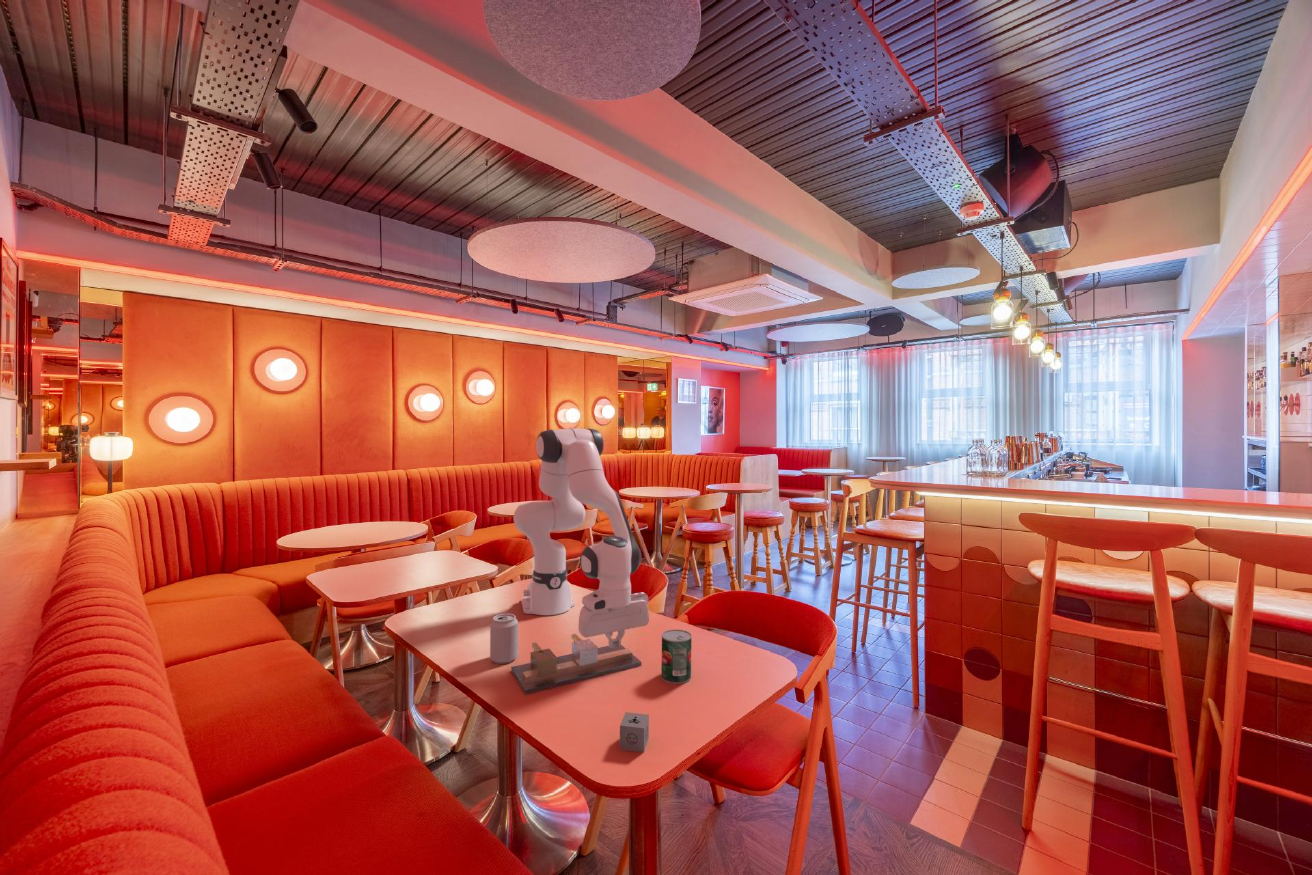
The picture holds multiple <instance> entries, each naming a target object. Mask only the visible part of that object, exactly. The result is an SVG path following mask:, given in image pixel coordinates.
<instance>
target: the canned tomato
mask: <svg viewBox="0 0 1312 875" xmlns="http://www.w3.org/2000/svg"><path fill="white" fill-rule="evenodd" d="M692 636H693V635H692V633H691V632H689V631H687V630H683V629H668V630H666V631H663V632H662V633H661V668H660V670H661V674H660V675H661V676H660V677H661V680H663V681H664V682H666V683H668V684H673V685H678V684H679V685H680V684H686V683H687V682H689V681H690V680H691V679H692V643H693V642H692Z"/></svg>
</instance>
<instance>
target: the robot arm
mask: <svg viewBox="0 0 1312 875" xmlns="http://www.w3.org/2000/svg"><path fill="white" fill-rule="evenodd" d="M535 448H536V449H535V450H536V453H537V454H536V455H537V457H538V458H539V459H540V460H541V463H540V464H541V465H540V472H539V478H538V479H539V480H538V486H539V487H538V488H539V489H540V491H541V492H542V493H543V494H545V495H546V496H548V497H550V498H552V499H551V500H542V501H541V500H540V501H530V502H527V503H523V504H518V506H517V507H516V509H515V511H514V513H513V522H514V526H515V528H516V529H517V530H518V531H519V532H520V533H522V534H523V535H524V536H525V537H526V538H527V539H528V540H529V542H530V545H531V546H532V550H533V560H534V567H533V568H534V569H533V572H532V580H531V582H529V584H528V585H527V589H524V590H523V597H522V598H521V599H520V602H521V608H522V610H523V612H522V613H523V614H527V615H528V614H529V615H530V614H531V615H537V616H555V615H561V614H563V613H566V612H568V611H569V610H570V609H571V608H573V607H574V606H575V605H576V602H575V601H574V600H572V589H571V587H572V586H571V583H570V582H569V581H568V580H567V579H568V569H567V565H566V564H567V557H566V555H567V550H566V548H565V545H563V544H562V543H561V542H559V541H557V540H555V539H552V538H551V533H553V532H559V531H562V532H563V531H569V530H574V529H576V528H579V527H581V526H583V524H584V522H585V521H586V509H585V507H584V505H585V506H589V507H592V508H595V509H598V510H600V511H602V512H603V513H604V514H606V516H607V517H608V519H609V523H610V525H611V528H612V531H613V534H614V535H610V536H606V537H603V538H602V539H601V541H600V542H598V543H594V544H591V545H588V546H586V547H584V549H583V550H582V552H581V554H580V557H579V558H580V560H579V566H580V570H581V572H582V573H583V575H584V576H586V577H587V578H589V579H592V580H593V579H598V580H599V585H598V589H596V590H594V591H592V592H589V593H588V594H586V595H585V596H583V597H582V600H581V603H582V605H583V606H582V607H581V609H580V612H579V615H578V616H579V617H578V632H579V633H580V635H581V636H582V637H584V638H585V639H586V638H591V637H595V636H601V635H605V637H606V639H607V640H608V646H609V647H610V648H613V647H618V646H621V645H622V644H621V642H622V639H623V637H624V635H625V632H626V630H632V629H636V628H640V627H644V626H645V627H646V626H647V625H648V624H649V622H650V612H649V596H648V594H647V593H645V592H644V591H643V592H642V591H641V592H636V593H635V592H634V593H632V583H631V575H633V574H635V573H636V571H637V570H638V569H639V567H640V565H641V562H642V559H643V558H642V551H641V549H640V547H639V544H638V543H637V541H636V539H635V537H634V535H633V531H632V529H631V525H630V522H629V519H628V517H627V514H626V511H625V509H624V505H623V502H622V500H621V497H620V496H619V494H618V492H617V491H616V490H615V489H613V488H612V487H611V485H610V484H609V483H608V480H607V479H606V476H605V471H604V467H603V462H602V458H601V455H602V454H603V453H604V452H603V451H604V438H603V436H602V434H601V433H600V431H599V430H597V429H593V428H579V427H578V428H577V427H575V428H573V427H570V428H559V429H547V430H543V431H541V432H539V434H538V436H537V437H536V443H535ZM615 632H617V635H616V637H615V638H612V637H613V633H615Z"/></svg>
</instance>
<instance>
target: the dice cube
mask: <svg viewBox="0 0 1312 875" xmlns="http://www.w3.org/2000/svg"><path fill="white" fill-rule="evenodd" d="M622 717H623V718H622V720H621V722H620V724H619V750H620V751H630V752H637V753H645V751H646V747H647V744H648V741H649V738H650V735H649V734H650V732H649V731H650V728H649V727H650V725H649V724H650V714H648V713H646V714H645V713H638V712H628V711H627V712H626V711H625V713H624V715H623V716H622Z"/></svg>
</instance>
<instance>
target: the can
mask: <svg viewBox="0 0 1312 875" xmlns="http://www.w3.org/2000/svg"><path fill="white" fill-rule="evenodd" d="M489 628H490V629H489V630H490V632H489V633H490V635H489V636H490V637H489V638H490V639H489V640H490V642H489V643H490V644H489V647H490V648H489V655H490V656H489V658H490V660H491V661H492V662H493V663H495V664H498V665H500V664H501V665H504V664H509V663H511V662H513V661H515V659H517V658H518V655H519V621H518V619H517V616H516V615H515V614H513V613H500V614H497V615H495V616H493V617H492V621H491V622H490V626H489Z"/></svg>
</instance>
